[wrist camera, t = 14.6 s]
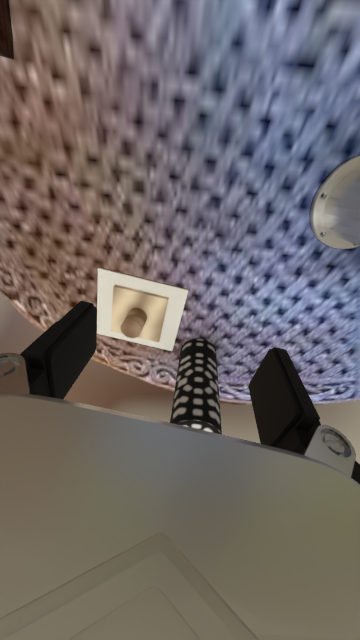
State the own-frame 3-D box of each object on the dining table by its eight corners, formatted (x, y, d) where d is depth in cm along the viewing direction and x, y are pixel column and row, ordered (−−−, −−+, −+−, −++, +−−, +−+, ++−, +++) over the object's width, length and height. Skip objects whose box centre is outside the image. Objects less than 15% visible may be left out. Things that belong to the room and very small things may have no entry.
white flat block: (188, 289, 42) (188, 290, 42) (172, 350, 51) (172, 351, 51) (98, 267, 42) (97, 268, 42) (97, 332, 50) (96, 333, 50)
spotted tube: (218, 340, 48) (226, 423, 31) (213, 367, 53) (217, 453, 36) (181, 336, 49) (169, 416, 32) (179, 363, 53) (167, 446, 36)
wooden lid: (168, 297, 43) (163, 312, 38) (159, 339, 49) (154, 357, 44) (115, 284, 43) (103, 297, 38) (112, 328, 49) (101, 344, 44)
